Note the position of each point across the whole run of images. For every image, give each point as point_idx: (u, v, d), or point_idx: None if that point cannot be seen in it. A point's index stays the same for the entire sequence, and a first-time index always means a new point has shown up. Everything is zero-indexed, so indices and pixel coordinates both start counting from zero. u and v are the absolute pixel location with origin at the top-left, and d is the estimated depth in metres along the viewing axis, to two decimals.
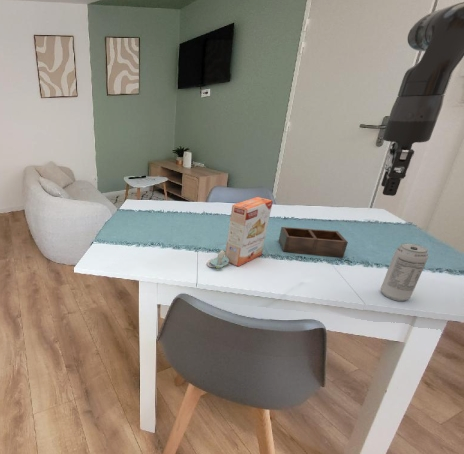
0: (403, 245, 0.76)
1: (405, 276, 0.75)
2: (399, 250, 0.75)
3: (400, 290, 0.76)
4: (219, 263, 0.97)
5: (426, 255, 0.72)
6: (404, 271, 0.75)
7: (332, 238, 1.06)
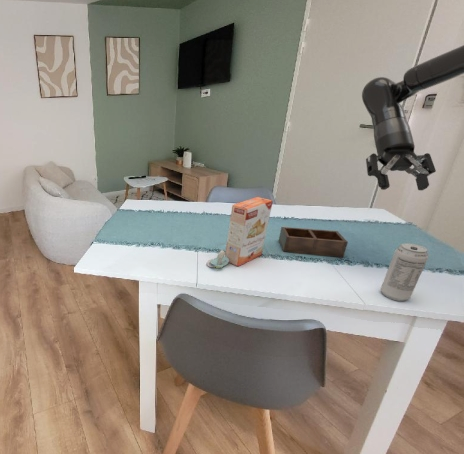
0: (403, 245, 0.76)
1: (405, 276, 0.75)
2: (399, 250, 0.75)
3: (400, 290, 0.76)
4: (219, 263, 0.97)
5: (426, 255, 0.72)
6: (404, 271, 0.75)
7: (332, 238, 1.06)
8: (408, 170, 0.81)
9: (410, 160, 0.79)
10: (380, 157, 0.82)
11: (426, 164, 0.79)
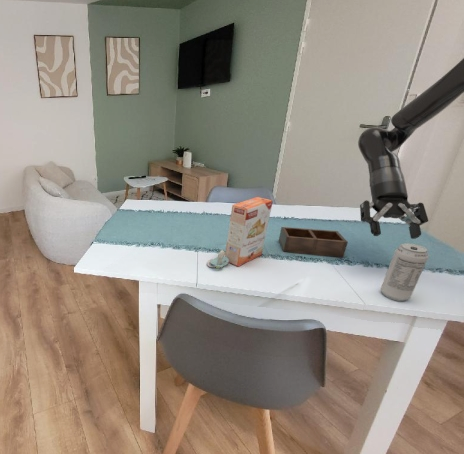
0: (403, 245, 0.76)
1: (405, 276, 0.75)
2: (399, 250, 0.75)
3: (400, 290, 0.76)
4: (219, 263, 0.97)
5: (426, 255, 0.72)
6: (404, 271, 0.75)
7: (332, 238, 1.06)
8: (402, 218, 0.83)
9: (403, 209, 0.82)
10: (373, 204, 0.85)
11: (419, 213, 0.81)
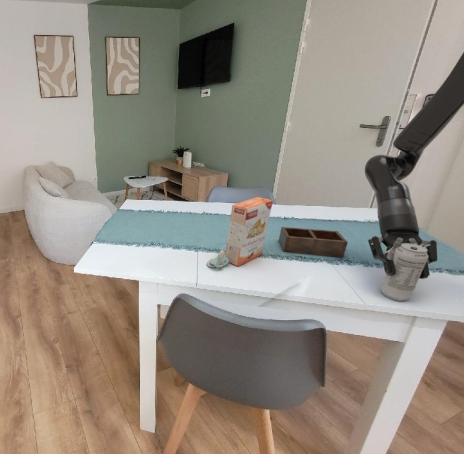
0: (403, 245, 0.76)
1: (405, 276, 0.75)
2: (399, 250, 0.75)
3: (400, 290, 0.76)
4: (219, 263, 0.97)
5: (426, 255, 0.72)
6: (404, 272, 0.75)
7: (332, 238, 1.06)
8: None
9: None
10: (382, 238, 0.80)
11: (429, 251, 0.76)
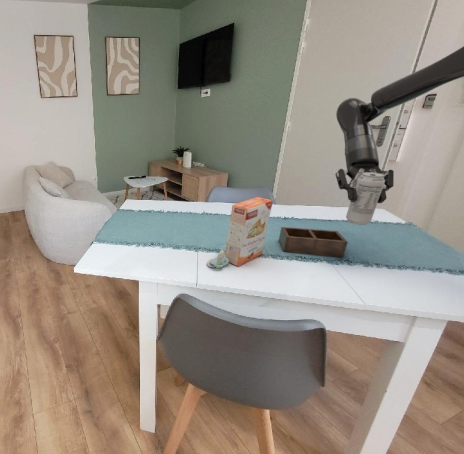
0: (364, 173, 0.85)
1: (365, 201, 0.85)
2: (360, 178, 0.85)
3: (361, 214, 0.86)
4: (219, 263, 0.97)
5: (382, 179, 0.82)
6: (364, 196, 0.85)
7: (332, 238, 1.06)
8: None
9: None
10: (347, 170, 0.90)
11: (387, 179, 0.86)
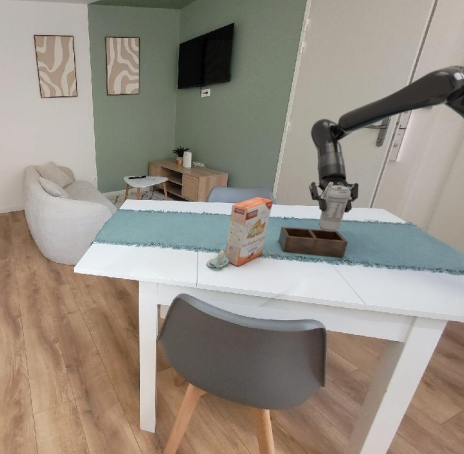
0: (332, 186, 0.97)
1: (333, 210, 0.97)
2: (328, 190, 0.97)
3: (330, 222, 0.98)
4: (219, 263, 0.97)
5: (347, 192, 0.94)
6: (332, 206, 0.97)
7: (332, 238, 1.06)
8: None
9: None
10: (319, 183, 1.02)
11: (353, 191, 0.98)
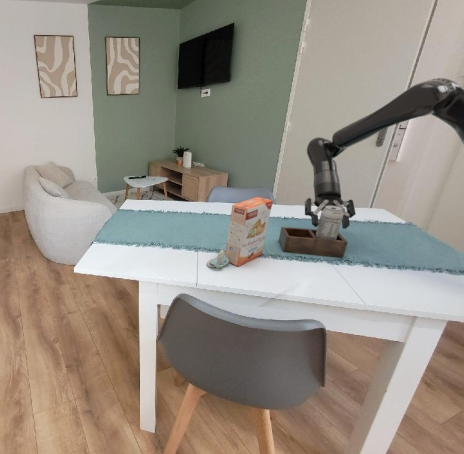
0: (326, 206, 1.00)
1: (327, 230, 1.00)
2: (323, 210, 1.00)
3: None
4: (219, 263, 0.97)
5: (341, 213, 0.97)
6: (326, 226, 1.00)
7: None
8: None
9: (336, 205, 1.01)
10: (314, 201, 1.04)
11: (349, 208, 1.00)
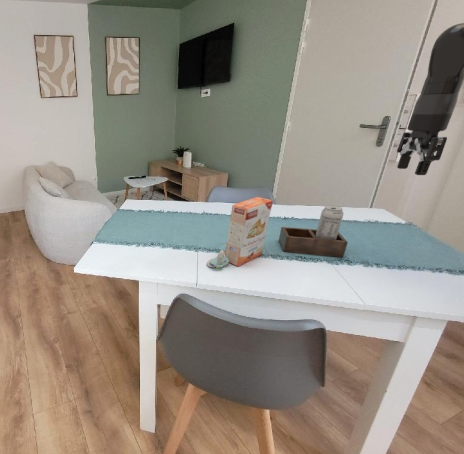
0: (326, 206, 1.00)
1: (327, 230, 1.00)
2: (323, 210, 1.00)
3: None
4: (219, 263, 0.97)
5: (341, 213, 0.97)
6: (326, 226, 1.00)
7: None
8: (407, 148, 0.85)
9: None
10: None
11: None
